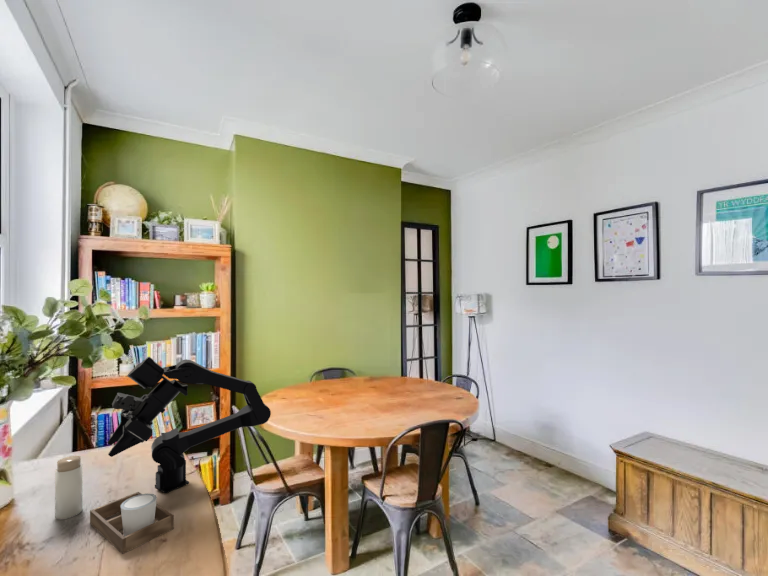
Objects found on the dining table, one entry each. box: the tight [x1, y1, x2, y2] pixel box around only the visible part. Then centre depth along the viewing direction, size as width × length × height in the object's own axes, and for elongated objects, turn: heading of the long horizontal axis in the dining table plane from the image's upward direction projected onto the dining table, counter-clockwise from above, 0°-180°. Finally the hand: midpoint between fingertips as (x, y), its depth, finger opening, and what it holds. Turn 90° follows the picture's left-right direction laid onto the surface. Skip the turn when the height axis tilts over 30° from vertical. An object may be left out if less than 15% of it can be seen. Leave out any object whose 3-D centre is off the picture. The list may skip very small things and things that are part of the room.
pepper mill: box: [54, 455, 84, 520], centre depth 93 cm, size 5×5×13 cm
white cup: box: [120, 493, 158, 537], centre depth 85 cm, size 7×7×7 cm
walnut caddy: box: [89, 491, 175, 555], centre depth 88 cm, size 10×18×3 cm, turn 54°
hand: (109, 449), depth 98 cm, fingers open, 9 cm apart
